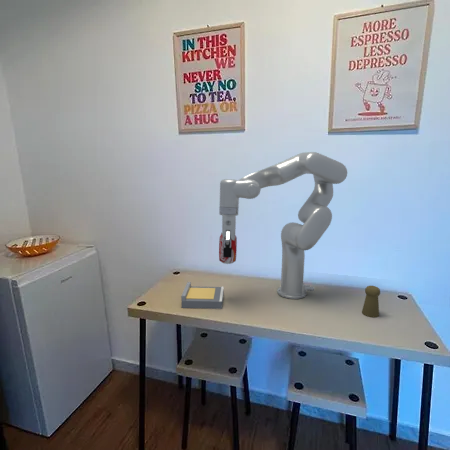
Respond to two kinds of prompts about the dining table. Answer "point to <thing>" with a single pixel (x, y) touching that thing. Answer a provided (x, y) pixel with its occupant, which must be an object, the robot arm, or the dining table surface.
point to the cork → (371, 302)
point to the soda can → (234, 249)
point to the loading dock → (202, 297)
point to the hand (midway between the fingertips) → (227, 254)
